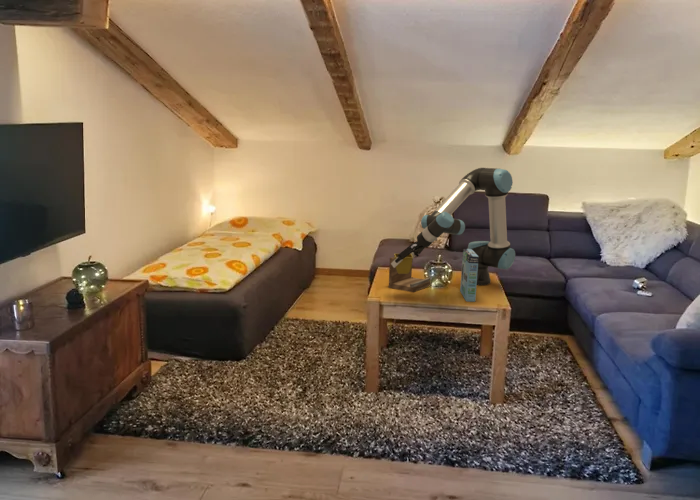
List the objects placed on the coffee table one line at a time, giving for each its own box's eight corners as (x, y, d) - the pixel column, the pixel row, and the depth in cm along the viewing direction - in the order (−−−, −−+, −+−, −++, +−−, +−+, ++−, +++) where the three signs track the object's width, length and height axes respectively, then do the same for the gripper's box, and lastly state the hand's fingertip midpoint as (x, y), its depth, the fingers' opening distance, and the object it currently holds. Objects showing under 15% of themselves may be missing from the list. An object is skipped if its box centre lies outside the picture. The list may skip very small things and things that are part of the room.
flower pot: (412, 275, 304) (413, 257, 302) (394, 274, 304) (395, 256, 302) (410, 271, 312) (411, 253, 311) (393, 270, 312) (394, 253, 311)
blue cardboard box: (460, 291, 321) (462, 248, 317) (469, 292, 321) (472, 249, 316) (465, 301, 302) (468, 256, 297) (476, 302, 302) (479, 256, 297)
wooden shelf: (431, 285, 333) (433, 256, 330) (413, 292, 317) (414, 262, 314) (408, 280, 342) (409, 252, 339) (388, 287, 326) (389, 258, 323)
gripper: (419, 246, 286) (390, 273, 298) (443, 239, 305) (415, 265, 317) (410, 233, 288) (381, 261, 300) (434, 228, 307) (407, 254, 319)
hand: (399, 263), depth 308 cm, fingers closed on flower pot, 12 cm apart
